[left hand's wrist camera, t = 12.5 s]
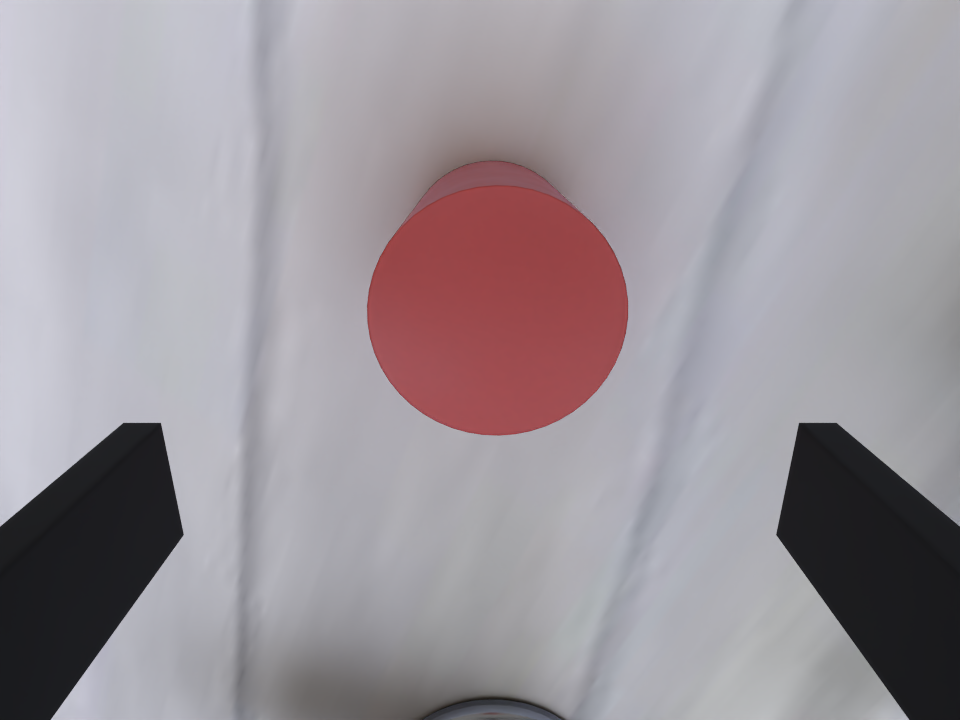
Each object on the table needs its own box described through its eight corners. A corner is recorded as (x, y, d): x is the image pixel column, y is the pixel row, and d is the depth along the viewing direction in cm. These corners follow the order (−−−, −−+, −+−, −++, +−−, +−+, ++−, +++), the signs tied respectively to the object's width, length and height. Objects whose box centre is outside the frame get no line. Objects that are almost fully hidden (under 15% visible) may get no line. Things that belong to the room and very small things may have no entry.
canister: (608, 215, 33) (680, 269, 21) (521, 355, 36) (542, 473, 24) (457, 126, 32) (442, 131, 20) (379, 281, 35) (324, 367, 22)
